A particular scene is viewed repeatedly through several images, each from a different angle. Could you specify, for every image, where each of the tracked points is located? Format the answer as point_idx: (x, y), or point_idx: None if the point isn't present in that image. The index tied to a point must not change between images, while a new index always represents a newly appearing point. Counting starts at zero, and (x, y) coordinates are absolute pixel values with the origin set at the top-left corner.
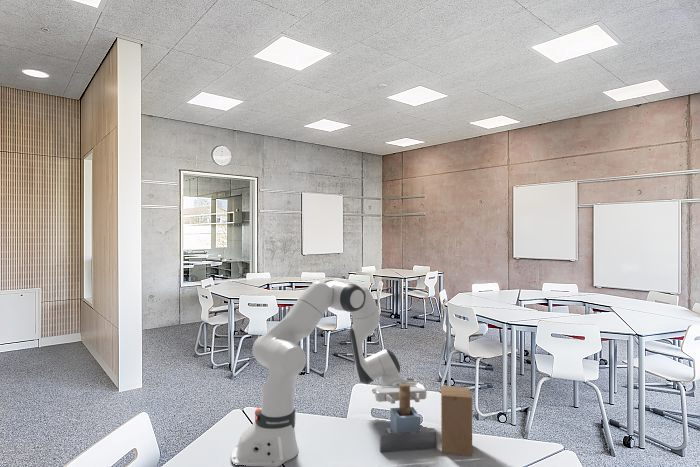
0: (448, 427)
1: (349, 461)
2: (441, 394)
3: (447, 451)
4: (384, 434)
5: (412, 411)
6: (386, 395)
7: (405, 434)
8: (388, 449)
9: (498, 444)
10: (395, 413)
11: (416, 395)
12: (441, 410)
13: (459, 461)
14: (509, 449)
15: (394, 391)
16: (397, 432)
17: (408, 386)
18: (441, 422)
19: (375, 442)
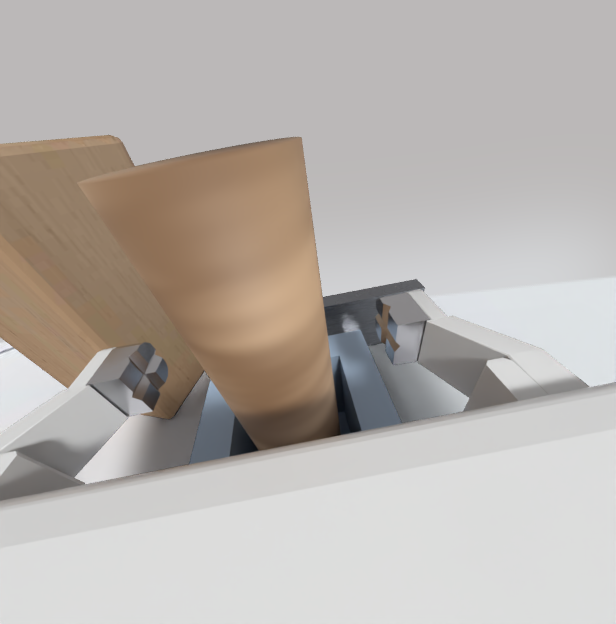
0: None
1: (487, 290)
2: (80, 160)
3: None
4: (403, 285)
5: (226, 433)
6: (541, 350)
7: (323, 298)
8: None
9: (12, 405)
10: (370, 388)
11: (36, 460)
12: (126, 265)
13: None
14: (23, 379)
15: (428, 448)
16: (353, 301)
17: (169, 159)
18: (152, 323)
19: (454, 388)
